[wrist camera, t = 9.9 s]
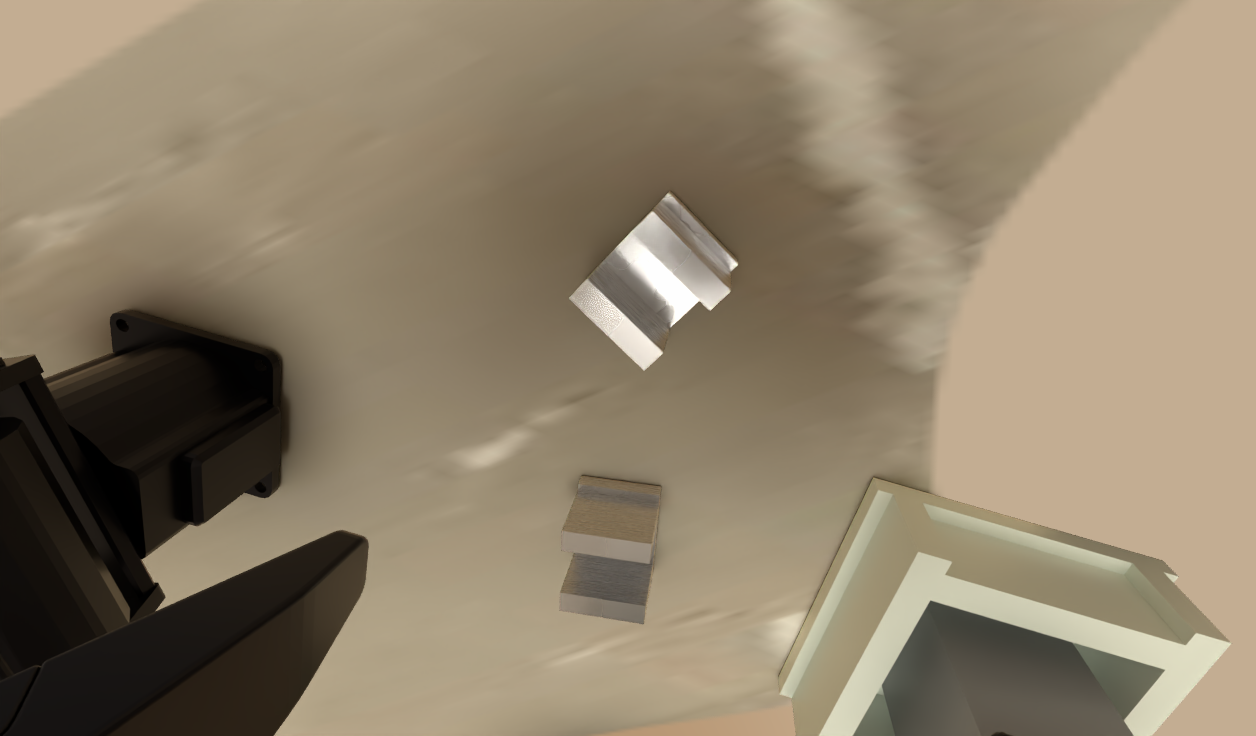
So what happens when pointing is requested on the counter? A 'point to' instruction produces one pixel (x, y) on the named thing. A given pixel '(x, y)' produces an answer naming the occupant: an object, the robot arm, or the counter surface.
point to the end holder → (988, 609)
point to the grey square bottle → (993, 682)
